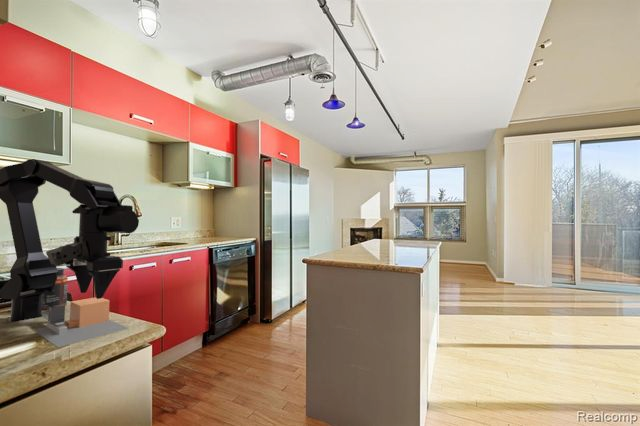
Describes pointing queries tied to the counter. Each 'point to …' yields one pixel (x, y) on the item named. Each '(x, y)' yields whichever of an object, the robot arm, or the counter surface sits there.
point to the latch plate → (77, 332)
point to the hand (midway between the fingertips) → (91, 295)
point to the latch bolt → (55, 314)
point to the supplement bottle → (56, 292)
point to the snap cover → (88, 312)
